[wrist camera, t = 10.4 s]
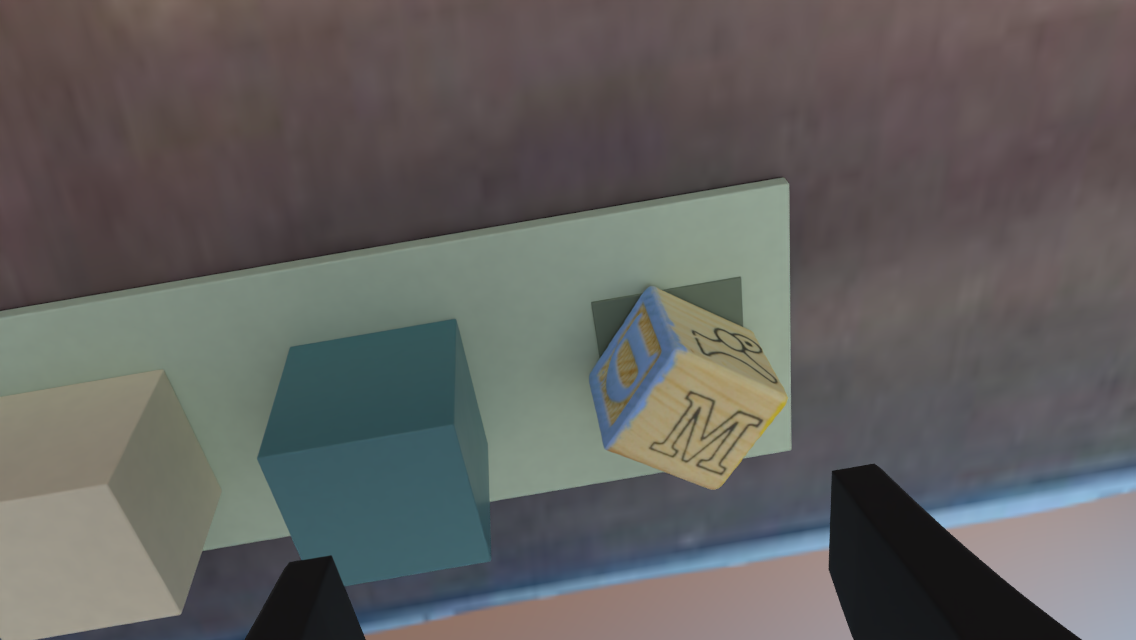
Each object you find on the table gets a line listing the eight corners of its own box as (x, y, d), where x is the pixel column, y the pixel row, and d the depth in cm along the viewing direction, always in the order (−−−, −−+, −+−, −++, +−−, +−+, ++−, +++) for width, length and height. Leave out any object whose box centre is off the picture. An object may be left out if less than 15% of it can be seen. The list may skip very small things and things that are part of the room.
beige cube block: (71, 516, 23) (4, 645, 20) (-4, 396, 21) (-92, 518, 18) (222, 491, 23) (181, 615, 20) (163, 367, 21) (106, 485, 18)
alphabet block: (650, 277, 21) (675, 350, 19) (756, 327, 22) (794, 403, 20) (585, 373, 22) (600, 454, 20) (687, 416, 23) (714, 498, 21)
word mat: (72, 563, 25) (66, 576, 24) (-82, 323, 21) (-93, 335, 20) (787, 441, 25) (792, 452, 24) (784, 176, 21) (790, 184, 20)
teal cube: (336, 471, 23) (314, 592, 20) (289, 346, 21) (255, 458, 18) (488, 445, 23) (491, 561, 20) (456, 317, 21) (454, 424, 18)
